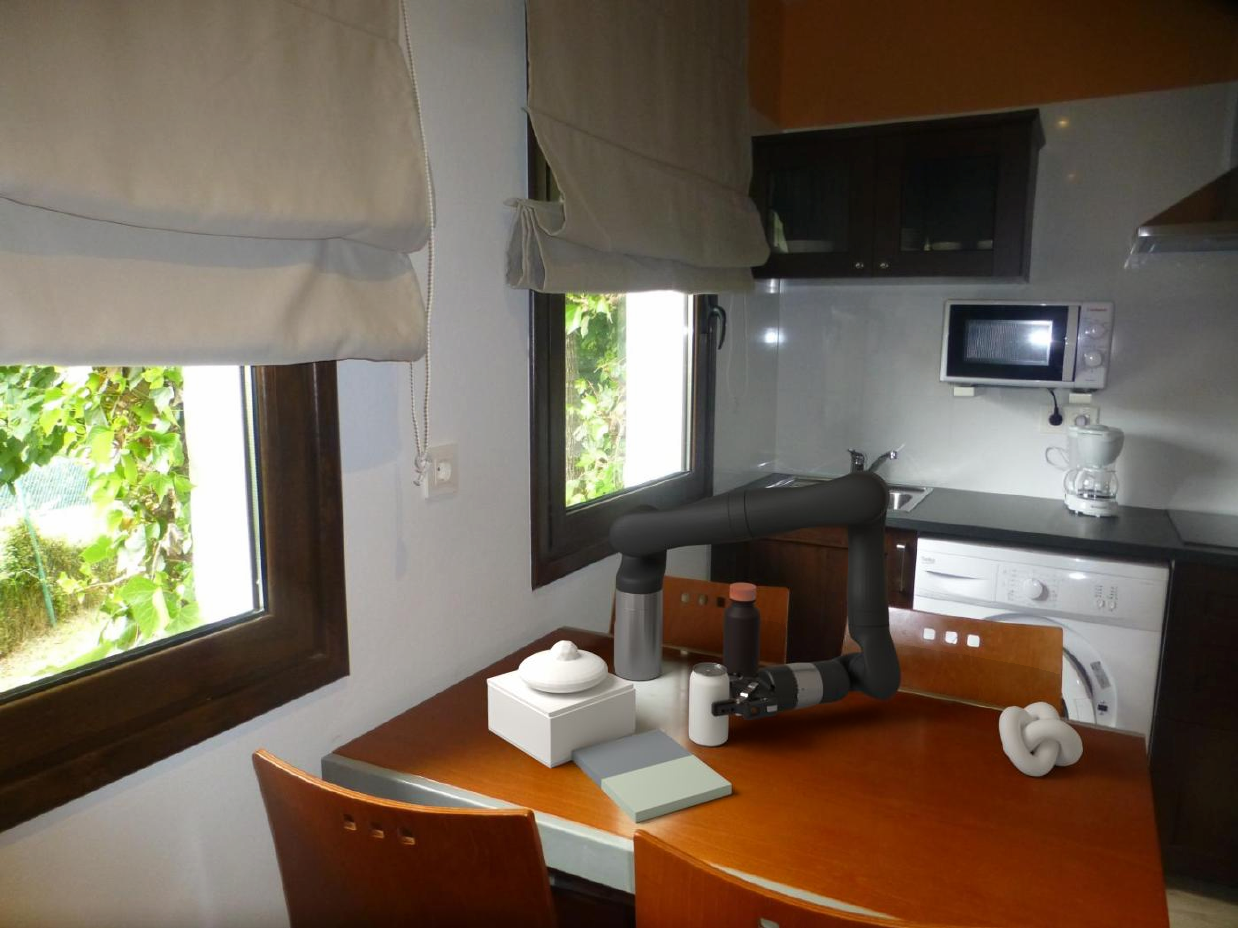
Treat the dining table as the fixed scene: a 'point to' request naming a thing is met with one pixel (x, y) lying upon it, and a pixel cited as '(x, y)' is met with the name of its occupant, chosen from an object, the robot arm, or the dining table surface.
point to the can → (708, 704)
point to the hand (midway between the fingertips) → (701, 698)
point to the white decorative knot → (1038, 738)
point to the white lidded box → (560, 704)
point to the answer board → (650, 774)
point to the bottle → (742, 631)
